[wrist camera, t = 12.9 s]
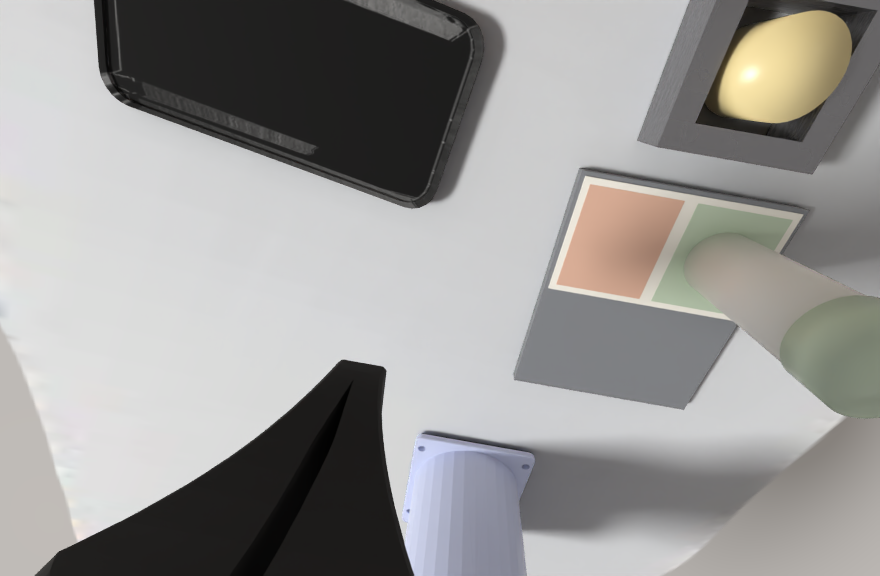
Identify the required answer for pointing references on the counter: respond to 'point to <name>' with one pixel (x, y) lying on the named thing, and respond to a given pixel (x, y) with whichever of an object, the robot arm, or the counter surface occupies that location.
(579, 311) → the picture board
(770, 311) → the marker
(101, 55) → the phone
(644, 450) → the counter surface
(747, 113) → the button
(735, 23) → the button collar
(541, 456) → the counter surface
